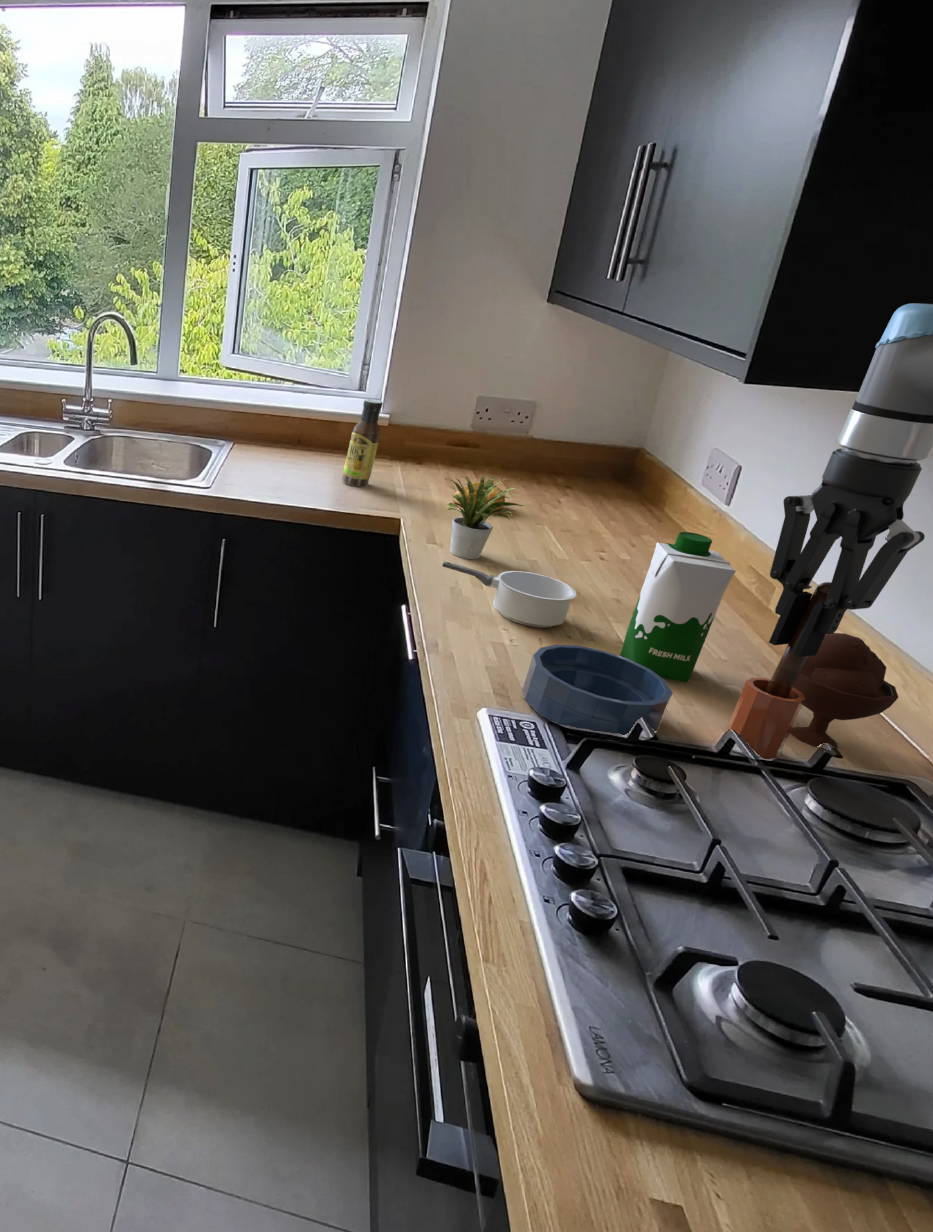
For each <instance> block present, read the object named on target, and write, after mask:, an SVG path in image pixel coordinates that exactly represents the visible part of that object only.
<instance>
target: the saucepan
mask: <svg viewBox="0 0 933 1232" xmlns="http://www.w3.org/2000/svg"><path fill="white" fill-rule="evenodd" d="M442 568H446V569H450V570H453V571H456V572H459V573H463V574H466V575H469V576H473V577H474V578H476V579H477V580H479V581H480V582H481V584H483V585H484V586H486V587H489V588H493V589H496V590H495V596H494V598H493V602H492V605H493V608H495V609H496V610H497V611H498V612H499V613H500V614H501V615H502V616H503V617H504V618H506V619H508V620H510V621H512V622H513V623H517V624H520V625H523V626H526V627H527V626H528V627H533V628H542V629H543V628H545V629H546V628H551V627H554V626H559V625H562V624H564V623H565V622H566V618H567V616H568V612H569V609H570V606H571V603H572V601H573V598H575V597H576V596H577V591H576V590H575V589H574V588H573V587H572V586H570V585H569V584H567V583H566V582H564V581H561V580H559V579H556V578H554V577H551V576H547V575H543V574H540V573H535V572H529V571H521V570H510V571H509V570H507V571H502V572H500V573H499V574H498V575H497V576H495V575H491V574H486V573H484V572H482V571H480V570H476V569H473V568H470V567H467V566H463V565H459V564H456V563H452V562H448V561H443V563H442Z"/></svg>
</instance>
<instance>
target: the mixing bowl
mask: <svg viewBox="0 0 933 1232" xmlns="http://www.w3.org/2000/svg"><path fill="white" fill-rule="evenodd" d="M522 693H523V694H522V695H523V698H524V701H525V702H526V703H527V704H528V705H529V706H530V707H531V708H532V709H533V710H534V711H535V713H537V714H538V715H539V716H541V717H544V718H545V719H547V720H548V719H549V721H550V720H551V721H550V722H552V721H553V722H552V723H554V722H556V723H558V724H564V725H570V726H575V727H577V728H585V729H590V730H593V731H605V732H611V733H620V734H622V735H625V734H627V733H629V731H630V730H631V728H632V727H633V725H634V724H635V722H636V721H637V720H638V719H640V718H641V717H643V718H644V719H645V721H646V722H647V723H648V724H649V726H651V728H653V729H654V731H659V730H660V727H661V725H662V722H663V719H664V717H665V714H666V712H667V710H668V707H669V704H670V701H671V698H672V696H673V694H674V693H673V690H672V689H671V687H670V685H669V683H668V682H667V680H666V679H665V678H661V677H660V676H659V675H657V674H656V673H655V672H653V671H652V670H650V669H648V668H646V667H644V666H642V665H640V664H638V663H636V662H634V661H632V660H630V659H627V658H624V657H622V656H621V655H617V654H615V653H612V652H609V651H607V650H602V649H597V648H592V647H587V646H581V645H577V644H574V645H573V644H552V645H547V646H542V647H539V649H537V650H536V651H535V652H534V654H533V655H532V658H531V661H530V664H529V667H528V670H527V673H526V677H525V680H524V683H523V686H522Z"/></svg>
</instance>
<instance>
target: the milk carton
mask: <svg viewBox="0 0 933 1232" xmlns="http://www.w3.org/2000/svg"><path fill="white" fill-rule="evenodd" d="M712 543H713V539H711V538H710V537H709V536H706V535H703V534H700V533H696V532H689V531H680V532H679V533H678V534H677V537H676V539H675V542H674V543H663V542H656V545H655V548H654V551H653V555H652V558H651V561H650V565H649V568H648V570H647V574H646V576H645V580H644V582H643V585H642V588H641V590H640V593H639V596H638V598H637V601H636V605H635V607H634V610H633V612H632V616H631V619H630V621H629V624H628V627H627V630H626V633H625V637H624V640H623V644H622V648H621V651H620V656H621V657H624V658H627V659H630V660H632V661H634V662H636V663H638V664H640V665H642V666H644V667H646V668H648V669H650V670H652V671H653V672H655V673H656V674H657V675H659V676H660V677H661V678H662V679H664V680H671V681H676V682H681V683H687V684H688V683H689V682H690V679H691V678H692V677H691V676H692V674H693V672H694V669H695V666H696V664H697V662H698V659H699V657H700V654H701V652H702V649H703V647H704V644H705V642H706V639H707V637H708V634H709V631H710V629H711V627H712V625H713V622H714V619H715V616H716V615H717V612H718V609H719V606H720V604H721V602H722V599H723V596H724V595H725V592H726V590H727V588H728V586H729V584H730V583H731V581H732V579H733V577H734V576H735V574H736V572H737V570H736V569H735V568H734V567H733V566H732V565H731V563H730V561H728V560H726V559H725V558H724V557H723V555H721V554H720V553H719V552H717V551H716V550H711V549H710V548H711V545H712Z"/></svg>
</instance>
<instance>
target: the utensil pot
mask: <svg viewBox="0 0 933 1232" xmlns="http://www.w3.org/2000/svg"><path fill="white" fill-rule="evenodd" d="M770 680H771V678H766V677H750V678H748V679H746V681H745V683H744V685H743V688H742V690H741V692H740V695H739V698H738V700H737V703H736V705H735V707H734V709H733V711H732V714H731V717H730V719H729V721H728V724H727V726H726V728H725V730H724V733H725V732H726V731H728V729H733V730H735V731H736V732H737V733H738V734H739V735H741V737H743V739H744V740H745V741H746V742H747V743H748V744H749V746H750V747H751V748H752V749H753V750H754V751H755V752H756V753H757V754H758V755H760V756H761V757H762V758H764V759H770V758H778V759H779V757H780V756H781V753H782V751H783V748H784V746H785V745H786V742H787V740H788V738H789V735H790V734H789V733H790V731H791V729H792V728H793V727H794V725H795V723H796V720H797V718H798V716H799V714H800V712H801V709H802V707H803V706H804V705H803V703H804V701H805V697H804V695H803V694H802V693H801V692H800V691H798V690H796V689H795V688H793V687H792V689H791V691H790V693H789V695H788V697H787V699H785V698H781V697H777V696H773V695H770V694H768V693H766V692H765V690H766V688H767V686H768V684H769V682H770Z"/></svg>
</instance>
